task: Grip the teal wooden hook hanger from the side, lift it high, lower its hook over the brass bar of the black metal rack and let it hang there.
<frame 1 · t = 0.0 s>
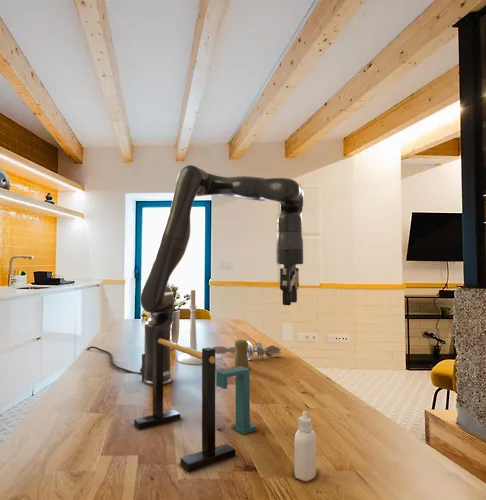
hand: (290, 303, 109), 29 cm above the table, tool pointing down, fingers open, 8 cm apart
hanger: (242, 429, 92), on the table
candlestick: (192, 360, 159), on the table
cork: (241, 369, 147), on the table
eye dropper bottle: (305, 475, 73), on the table
ornate silver scepter: (247, 360, 160), on the table
rack: (180, 439, 87), on the table
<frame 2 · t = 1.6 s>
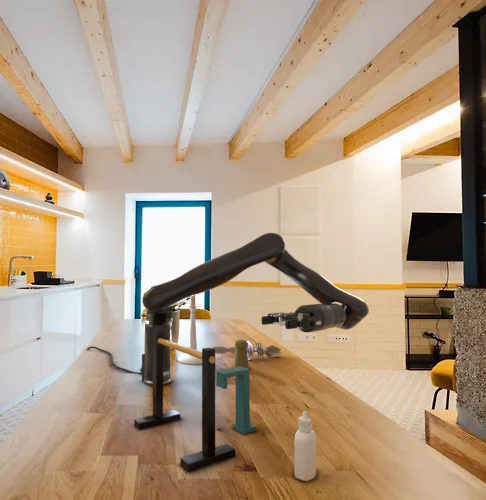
hand: (273, 322, 99), 25 cm above the table, tool horizontal, fingers open, 8 cm apart
nothing on the table moved.
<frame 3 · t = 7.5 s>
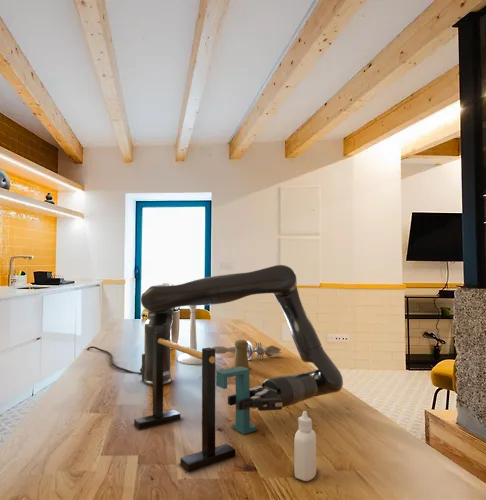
hand: (233, 403, 91), 7 cm above the table, tool horizontal, fingers closed on hanger, 3 cm apart
hanger: (242, 429, 92), on the table, touching gripper
everything else where it was.
when the fingers open (15 cm above the table, at t = 18.7 s): hanger moves 11 cm and tips over, resting on rack.
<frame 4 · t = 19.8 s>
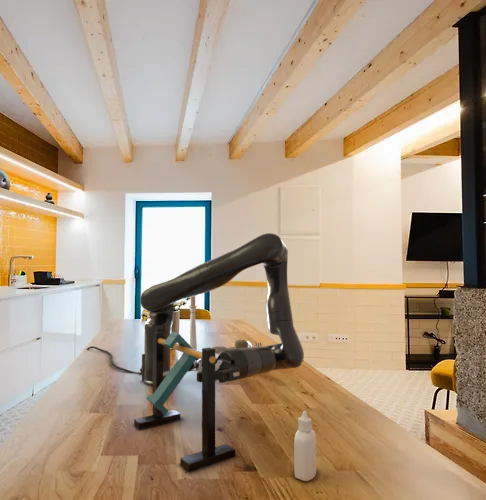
hand: (187, 372, 89), 15 cm above the table, tool horizontal, fingers open, 8 cm apart
hanger: (154, 405, 84), point 9 cm above the table, tilted 44°, touching rack
everything else where it was.
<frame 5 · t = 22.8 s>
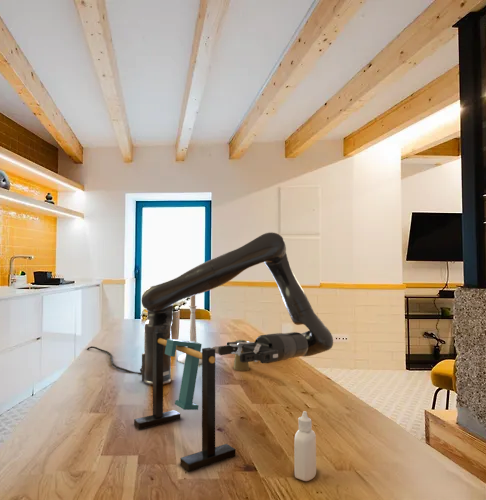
hand: (229, 354, 96), 18 cm above the table, tool horizontal, fingers open, 8 cm apart
hanger: (184, 407, 88), point 7 cm above the table, tilted 11°, touching rack
everything else where it was.
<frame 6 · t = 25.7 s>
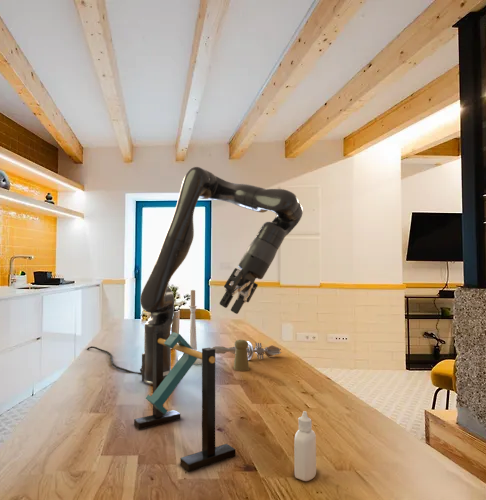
hand: (228, 309, 102), 28 cm above the table, tool tilted 30°, fingers open, 8 cm apart
hanger: (153, 404, 84), point 9 cm above the table, tilted 46°, touching rack
everything else where it was.
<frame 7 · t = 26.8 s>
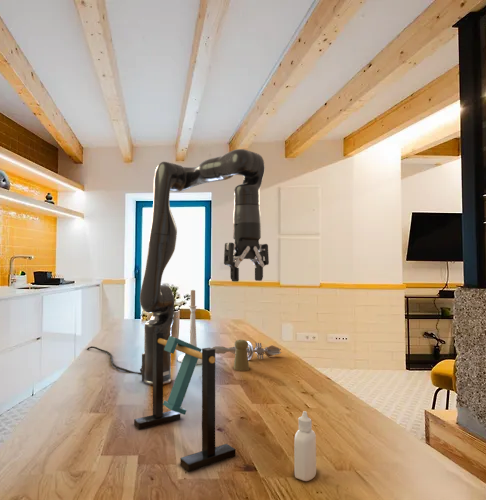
hand: (247, 281, 103), 36 cm above the table, tool pointing down, fingers open, 8 cm apart
hanger: (172, 409, 86), point 7 cm above the table, tilted 25°, touching rack
everything else where it was.
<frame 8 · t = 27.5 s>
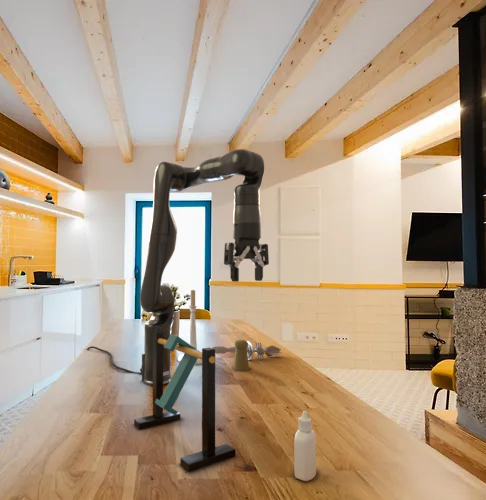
hand: (247, 281, 103), 36 cm above the table, tool pointing down, fingers open, 8 cm apart
hanger: (163, 408, 85), point 8 cm above the table, tilted 35°, touching rack
everything else where it was.
at the end: hanger inside the target area on the rack (6.4 cm from its centre), point 8.8 cm above the rack's base; hanger touching rack; the gripper is holding nothing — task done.
